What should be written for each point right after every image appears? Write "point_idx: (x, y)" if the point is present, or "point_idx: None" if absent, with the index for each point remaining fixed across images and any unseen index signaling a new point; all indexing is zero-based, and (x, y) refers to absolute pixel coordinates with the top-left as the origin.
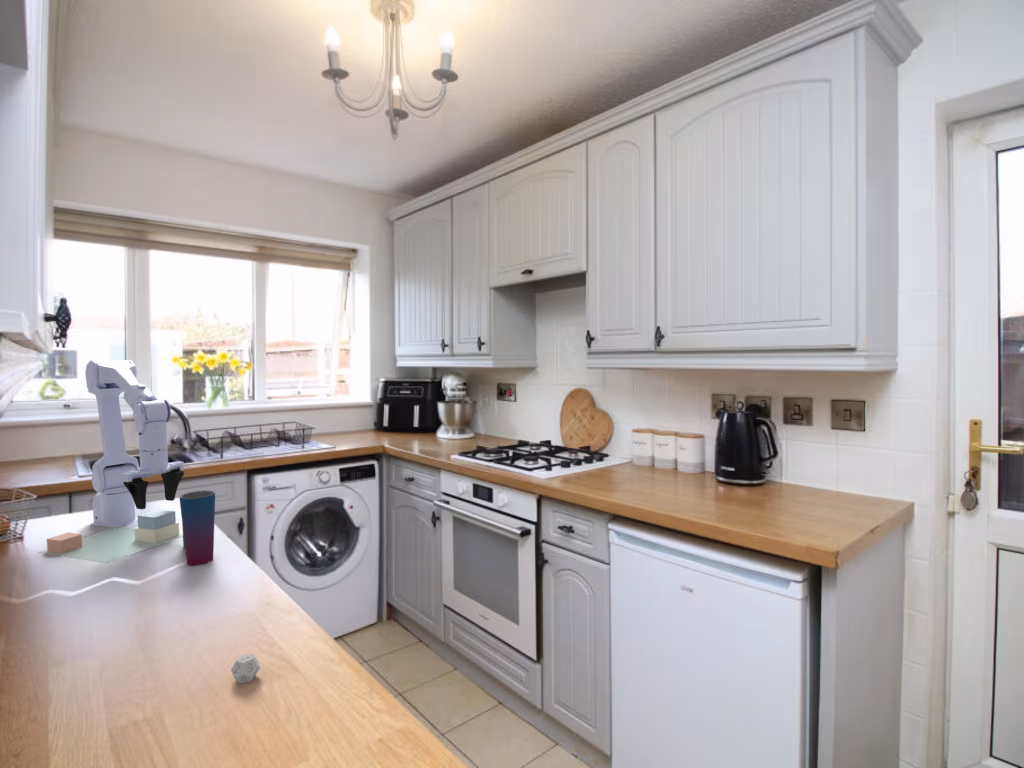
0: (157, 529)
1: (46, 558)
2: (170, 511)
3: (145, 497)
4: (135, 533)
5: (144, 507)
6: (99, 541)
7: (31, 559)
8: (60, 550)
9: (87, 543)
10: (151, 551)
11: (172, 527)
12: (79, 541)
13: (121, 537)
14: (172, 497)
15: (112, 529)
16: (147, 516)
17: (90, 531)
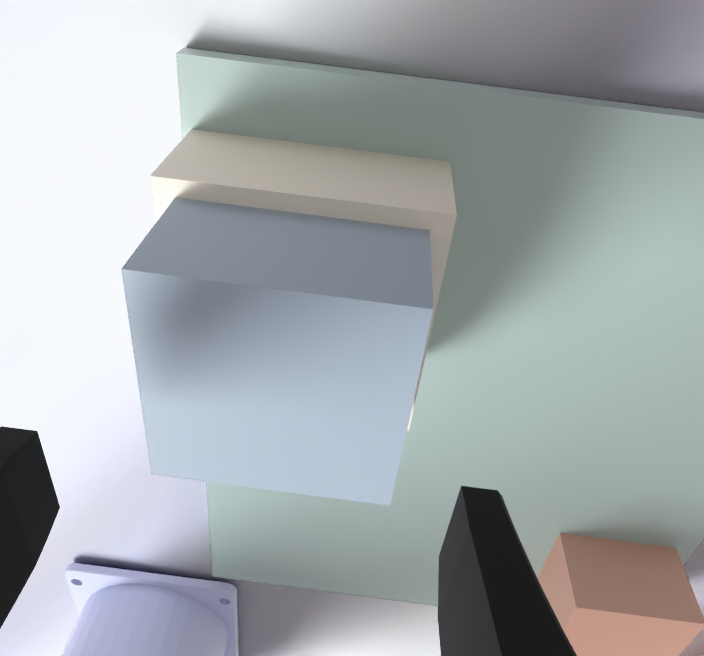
0: (411, 215)
1: (693, 567)
2: (159, 312)
3: (504, 644)
4: None
5: (483, 501)
6: None
7: (699, 604)
8: (682, 567)
9: None
10: (601, 53)
11: (241, 173)
12: (582, 569)
13: None
14: (4, 464)
15: (270, 579)
16: (403, 408)
17: (298, 635)
